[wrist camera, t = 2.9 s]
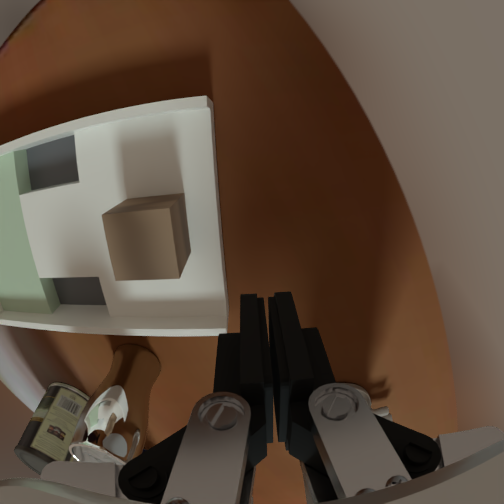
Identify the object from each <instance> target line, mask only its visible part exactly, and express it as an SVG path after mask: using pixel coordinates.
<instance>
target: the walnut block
mask: <svg viewBox="0 0 504 504" xmlns="http://www.w3.org/2000/svg"><path fill="white" fill-rule="evenodd" d="M102 221H103V226H104V231H105V236H106V241H107V246H108V251H109V255H110V260H111V264H112V268H113V273H114V277H115V281H129V280H161V279H180V277H181V274H182V272H183V270H184V267H185V265H186V263H187V260H188V258H189V256H190V253H191V247H190V239H189V230H188V222H187V213H186V204H185V194H184V193H180V194H169V195H159V196H149V197H140V198H131V199H126V200H124V201H123V202H121V203H120V204H118V205H116V206H115V207H113V208H112V209H110V210H108V211H107V212H105V213H104V214H102Z"/></svg>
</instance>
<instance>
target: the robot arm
mask: <svg viewBox="0 0 504 504" xmlns="http://www.w3.org/2000/svg"><path fill="white" fill-rule="evenodd" d="M268 309H269V341H268V333H267V324H266V316H265V307H264V299H263V298H257V294H241V296H240V333H221V334H219V337H218V346H217V356H216V367H215V378H214V389H213V393H211V394H208V395H206V396H204V397H202V398H201V399H200V400H199V401H198V402H197V403H196V404H195V406H194V408H193V410H192V413H191V416H190V419H189V421H188V424H187V425H186V426H185V427H183V428H182V429H180V430H179V431H177V432H176V433H174V434H173V435H171V436H170V437H168V438H166V439H165V440H163V441H162V442H160V443H158V444H157V445H155V446H154V447H152V448H150V449H149V450H147V451H145V452H144V453H142V454H140V455H139V456H137V457H135V458H133V459H132V460H130V461H129V462H127V463H126V464H125V465H117V464H116V463H115V462H70V461H53V462H51V463H49V464H47V465H46V466H45V467H44V469H43V470H42V473H41V476H40V479H35V478H11V479H5V480H0V504H251V498H252V491H253V485H254V478H255V471H256V465H257V464H258V463H259V462H260V461H261V460H262V459H264V458H265V457H266V456H267V443H273V397H274V407H275V416H276V425H277V435H278V442H285V447H286V450H289V454H291V455H292V456H294V457H295V458H297V459H299V460H300V466H301V469H302V473H303V479H304V486H305V493H306V500H307V504H504V433H503V432H502V431H501V430H500V429H499V428H497V427H494V426H486V427H482V428H477V429H473V430H467V431H461V432H456V433H449V434H443V435H439V436H438V437H437V438H435V439H432V438H430V437H428V436H427V435H424V434H422V433H419V432H417V431H414V430H412V429H409V428H407V427H404V426H402V425H399V424H397V423H395V422H392V415H391V414H390V413H389V409H388V407H387V406H385V407H380V408H378V409H372V408H371V399H370V397H369V394H368V392H367V391H366V390H365V389H364V388H362V387H361V386H358V385H355V384H350V383H336V382H335V379H334V376H333V373H332V369H331V366H330V363H329V360H328V357H327V354H326V351H325V348H324V346H323V343H322V340H321V337H320V334H319V331H318V329H317V328H316V327H315V328H304V329H301V326H300V323H299V319H298V315H297V312H296V308H295V304H294V301H293V297H292V294H291V292H275V293H274V297H268Z"/></svg>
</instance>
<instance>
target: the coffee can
mask: <svg viewBox="0 0 504 504" xmlns="http://www.w3.org/2000/svg"><path fill="white" fill-rule="evenodd" d="M89 398H90V397H88V396H87V395H86V394H84V393H83V392H81V391H80V390H78V389H76V388H74V387H72V386H70V385H67V384H64V383H52V384H50V385H49V386H48V389H47V391H46V393H45V395H44V396H43V398H42V400H41V402H40V403H39V405H38V407H37V409H36V411H35V413H34V414H33V416H32V418H31V420H30V422H29V424H28V426H27V427H26V429H25V431H24V433H23V435H22V437H21V440H20V441H19V443H18V445H17V446H16V447H15V449H14V452H15V454H16V455H17V457H18V458H19V459H20V460H21V461H22V462H23V463H24V464H26V465H27V466H28V467H29V468H30V469H32V470H33V471H35V472H36V473H38V474H39V475H41V473H42V470H43V469H44V467H45V466H46V465H47V464H49V463H51V462H53V461H70V462H78V461H77V460H76V459H75V458H74V457H73V456H72V455H71V453H70V452H69V445H70V443H71V440H72V436H73V433H74V430H75V427H76V424H77V422H78V419H79V417H80V414H81V412H82V410H83V408H84V406H85V404H86V403H87V401H88V400H89Z"/></svg>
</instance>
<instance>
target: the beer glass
mask: <svg viewBox="0 0 504 504" xmlns="http://www.w3.org/2000/svg"><path fill="white" fill-rule="evenodd" d="M160 371H161V366H160V362H159V360H158V359H157V357H156V356H155V355H154V354H153V353H152V352H150V351H149V350H148V349H146V348H144V347H142V346H139V345H135V344H125V345H122V346H120V347H118V348H117V349H116V351H115V353H114V356H113V361H112V365H111V368H110V371H109V373H108V375H107V376H106V378H105V379H104V380H103V382H102V383H101V384H100V385H99V387H98V388H97V389H96V390H95V392H94V393H93V394H92V396H91V397H90V398H89V400H88V401H87V403H86V404H85V406H84V408H83V410H82V412H81V414H80V417H79V419H78V422H77V424H76V427H75V430H74V433H73V436H72V440H71V443H70V445H69V452H70V453H71V455H72V456H73V457H74V458H75V459H76V460H77V461H78V462H115V463H116V464H117V465H125V464H126V463H127V462H129V461H130V460H132V459H133V458H135V457H137V456H139V455H140V454H142V451H143V448H144V444H145V440H146V435H147V429H148V418H149V400H150V393H151V389H152V387H153V385H154V383H155V381H156V380H157V378H158V376H159V374H160Z"/></svg>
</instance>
